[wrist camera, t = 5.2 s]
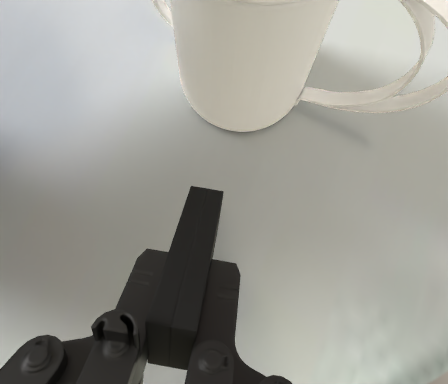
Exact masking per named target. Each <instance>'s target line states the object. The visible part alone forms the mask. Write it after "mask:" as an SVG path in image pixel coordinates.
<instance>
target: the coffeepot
mask: <svg viewBox="0 0 448 384" xmlns="http://www.w3.org/2000/svg"><path fill="white" fill-rule="evenodd" d="M399 1H400V2H401V3H402V5H403V6H404V7H405V8H406V9H407V11H408V12H409V14H410V16H411V17H412V19H413V21H414V23H415V25H416V27H417V30H418V34H419V37H420V44H421V54H420V59H419V61H418V62H417V63H416V65H415V66H414V67H413V68H412V69H411V70H410V71H409V72H407V73H406V74H405V75H404V76H402V77H401V78H400V79H398V80H396V81H394V82H393V83H391V84H388V85H386V86H383V87H381V88H377V89H373V90H366V91H357V92H333V91H328V90H324V89H320V88H318V89H315V88H312V87H304V85H305V82H306V80H307V78H308V75H309V73H310V70H311V68H312V65H313V63H314V60H315V58H316V56H317V53H318V51H319V48H320V46H321V43H322V41H323V39H324V36H325V34H326V31H327V29H328V26H329V24H330V22H331V19H332V17H333V14H334V12H335V9H336V7H337V5H338V2H339V0H170V4H171V10H170V9H169V7H168V6H167V4H166V3H165V1H164V0H152V2H153V4H154V6H155V7H156V9H157V11H158V12H159V14H160V15H161V16H162V17H163V19H164V20H165V21H166V22H167V23H168V24H169V25H170V26H172V27H173V28H174V36H175V44H176V52H177V60H178V68H179V76H180V82H181V86H182V89H183V92H184V94H185V96H186V98H187V100H188V102H189V103H190V105H191V106H192V108H193V109H194V110H195V111H196V112H197V113H198V114H199V115H200V116H201V117H202V118H203V119H205V120H206V121H208V122H209V123H211V124H213V125H215V126H217V127H219V128H222V129H226V130H230V131H237V132H248V131H255V130H260V129H263V128H266V127H268V126H270V125H272V124H274V123H276V122H277V121H279V120H280V119H282V118H283V117H284V116H285V115H286V114H287V113H288V112H289V111H290V110H291V109H292V108H293V106H294V105H296V106H297V104H298V102H299V101H300V100H304V101H308V102H311V103H314V104H318V105H322V106H325V107H329V108H334V109H339V110H345V111H352V112H363V113H388V112H396V111H402V110H407V109H411V108H416V107H418V106H421V105H424V104H426V103H429V102H431V101H433V100H435V99H436V98H438V97H440V96H441V95H443V94H445V93H446V92H447V91H448V76H447V77H446V78H444V79H443V80H441V81H440V82H438V83H436V84H434V85H432V86H430V87H427V88H425V89H423V90H420V91H416V92H413V93H409V94H405V95H399V96H394V95H396V94H397V93H398V92H400V91H401V90H403V89H404V88H405V87H406V86H407V85H408V84H409V83H410V82H411V81H412V80H413V78H414V77H415V76H416V74H417V73H418V71H419V70H420V68H421V66H422V64H423V62H424V60H425V58H426V56H427V54H428V52H429V50H430V48H431V45H432V43H433V39H434V34H435V19H434V15H435V16H436V17H438V18H439V19H440V21H441V22H442V23H443V24H444V25H445V26H446V28H447V29H448V0H399ZM303 87H304V88H303ZM392 96H393V97H392Z"/></svg>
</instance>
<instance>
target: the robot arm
mask: <svg viewBox="0 0 448 384" xmlns="http://www.w3.org/2000/svg"><path fill="white" fill-rule="evenodd" d="M223 192H224V191H218V190H212V189H206V188H200V187H194V186H191V188H190V191H189V194H188V197H187V200H186V202H185V205H184V208H183V211H182V214H181V217H180V220H179V223H178V226H177V229H176V232H175V235H174V238H173V241H172V244H171V247H170V250H169V252H163V251H158V250H152V249H146V250H145V251H144V252H143V253H142V254H141V255H140V256H139V257H138V258H137V260H136V263H135V265H134V267H133V270H132V272H131V274H130V276H129V279H128V282H127V283H126V286H125V288H124V290H123V293H122V295H121V297H120V299H119V302H118V304H117V306H116V309H115V310H111V311H109V312H106V313H104V314H103V315H101V316H100V317H99V318H97V319H96V321H95V322H94V324H93V325H92V326H91V328H92V332H93V335H92V336H90V337H86V338H82V339H76V340H69V341H63V342H61V341H60V340H59V339H58V338H57V337H55V336H50V335H44V336H38V337H35V338H33V339H31V340H29V341H27V342H26V343H25V344H24V345H23V346H22V347H20V348H19V349H18V350H17V351H16V353H15V354H14V355H13V356H12V357H11V358H10V359H9V360H8V361H7V362H6V364H5V365H4V366H3V367H2V368H1V369H0V384H143V372H144V369H145V365H146V362H147V359H148V363H150V364H156V365H161V366H167V367H172V368H178V369H184V370H187V375H186V380H185V384H292V383H291V382H290V381H289V380H287V379H285V378H284V377H282V376H275V375H272V376H269V377H266V376H264V375H262V374H261V373H259V372H257V371H255V370H254V369H252V368H250V367H249V366H248V365H246V364H245V363H244V362H243V361H242V360H241V358H240V357H239V355H238V353H237V351H236V347H235V330H236V319H237V308H238V297H239V286H240V273H239V270H238V267H237V264H236V263H230V262H225V261H219V260H213V259H212V257H213V252H214V247H215V241H216V236H217V230H218V224H219V217H220V211H221V205H222V198H223Z"/></svg>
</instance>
